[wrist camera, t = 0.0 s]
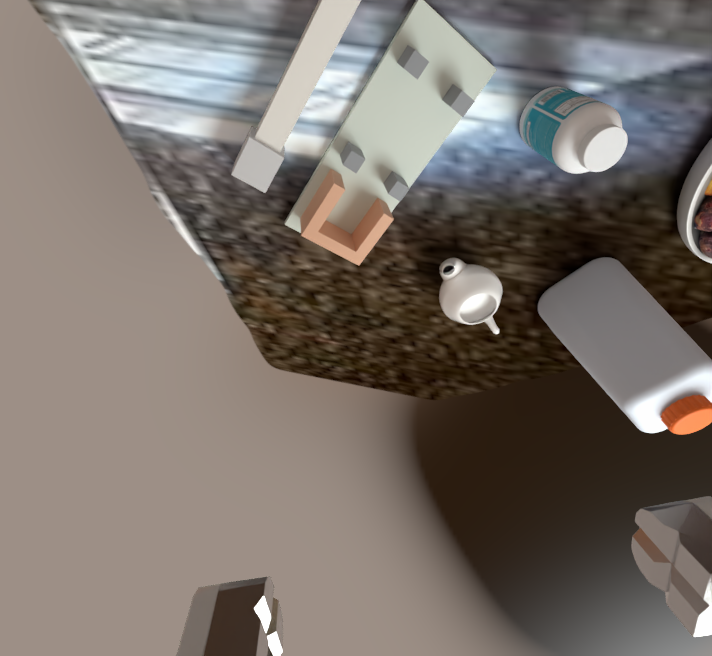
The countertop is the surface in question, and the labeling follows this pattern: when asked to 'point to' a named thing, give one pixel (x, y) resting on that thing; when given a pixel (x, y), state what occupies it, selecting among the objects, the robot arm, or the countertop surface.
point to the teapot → (469, 293)
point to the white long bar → (292, 93)
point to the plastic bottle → (631, 347)
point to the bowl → (697, 206)
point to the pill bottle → (573, 130)
